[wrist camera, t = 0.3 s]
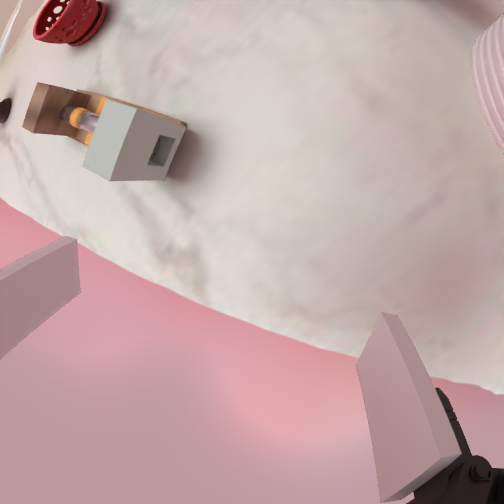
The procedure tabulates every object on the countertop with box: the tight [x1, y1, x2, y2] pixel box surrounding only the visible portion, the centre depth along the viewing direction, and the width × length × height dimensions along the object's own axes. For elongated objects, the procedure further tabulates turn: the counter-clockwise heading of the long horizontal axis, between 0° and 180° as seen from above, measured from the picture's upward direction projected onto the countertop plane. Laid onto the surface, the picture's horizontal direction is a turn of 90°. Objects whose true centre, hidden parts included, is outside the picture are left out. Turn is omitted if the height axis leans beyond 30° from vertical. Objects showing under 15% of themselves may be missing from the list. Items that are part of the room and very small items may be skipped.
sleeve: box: [83, 99, 187, 181], centre depth 30 cm, size 8×5×12 cm, turn 154°
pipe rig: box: [22, 82, 186, 158], centre depth 33 cm, size 9×26×12 cm, turn 64°
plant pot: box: [33, 0, 106, 46], centre depth 29 cm, size 13×13×12 cm
